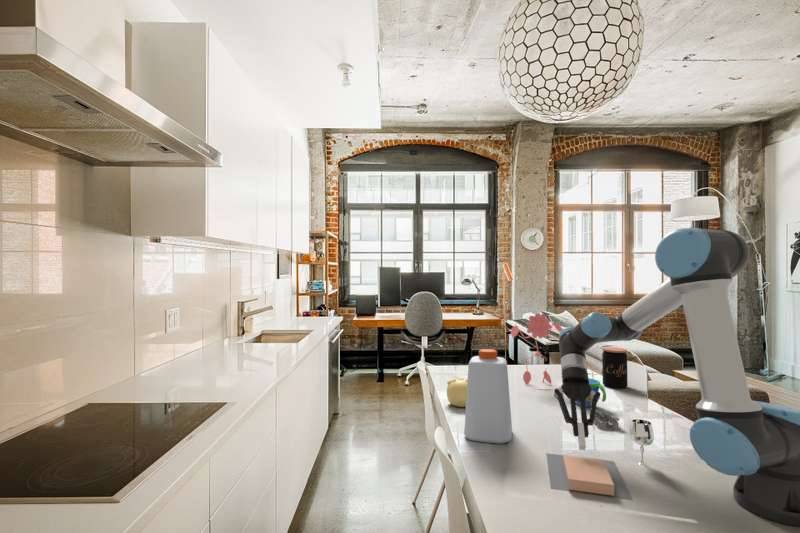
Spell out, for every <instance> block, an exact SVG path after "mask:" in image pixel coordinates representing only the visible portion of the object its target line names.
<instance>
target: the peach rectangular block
mask: <svg viewBox="0 0 800 533" xmlns="http://www.w3.org/2000/svg"><path fill="white" fill-rule="evenodd" d="M562 455H563V466H564V471H565V475H566V480H567V485H568V489H569V490H577V491H584V492H591V493H598V494H606V495H613V496H614V484H613V481H612V479H611V477H610V474H609V472H608V470H607V468H606V465H605V463H604V461H603V460H604V459H600V458H593V457H585V456H584V457H583V456H576V455H575V456H574V455H565V454H562Z"/></svg>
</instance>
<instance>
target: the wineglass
mask: <svg viewBox="0 0 800 533" xmlns="http://www.w3.org/2000/svg"><path fill="white" fill-rule="evenodd" d="M654 432H655V431H654V428H653V424H652V422H651V421H649V420H646V419H640V418H639V419H638V418H636V419H635V418H634V419H632V420H631V424H630V428H629V436H630V439H631V441H632V442H634V443H635V444H637V445H638V446H640V447H639V451H640V457H641V458H640V461H638V462H637V463H638V464H639V465H642V466H646V465H647V463H645V461H644V453H645V452H644V451H645V448H644V447H645V446H650V445H652V444H653V442H654V440H655V433H654Z"/></svg>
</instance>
